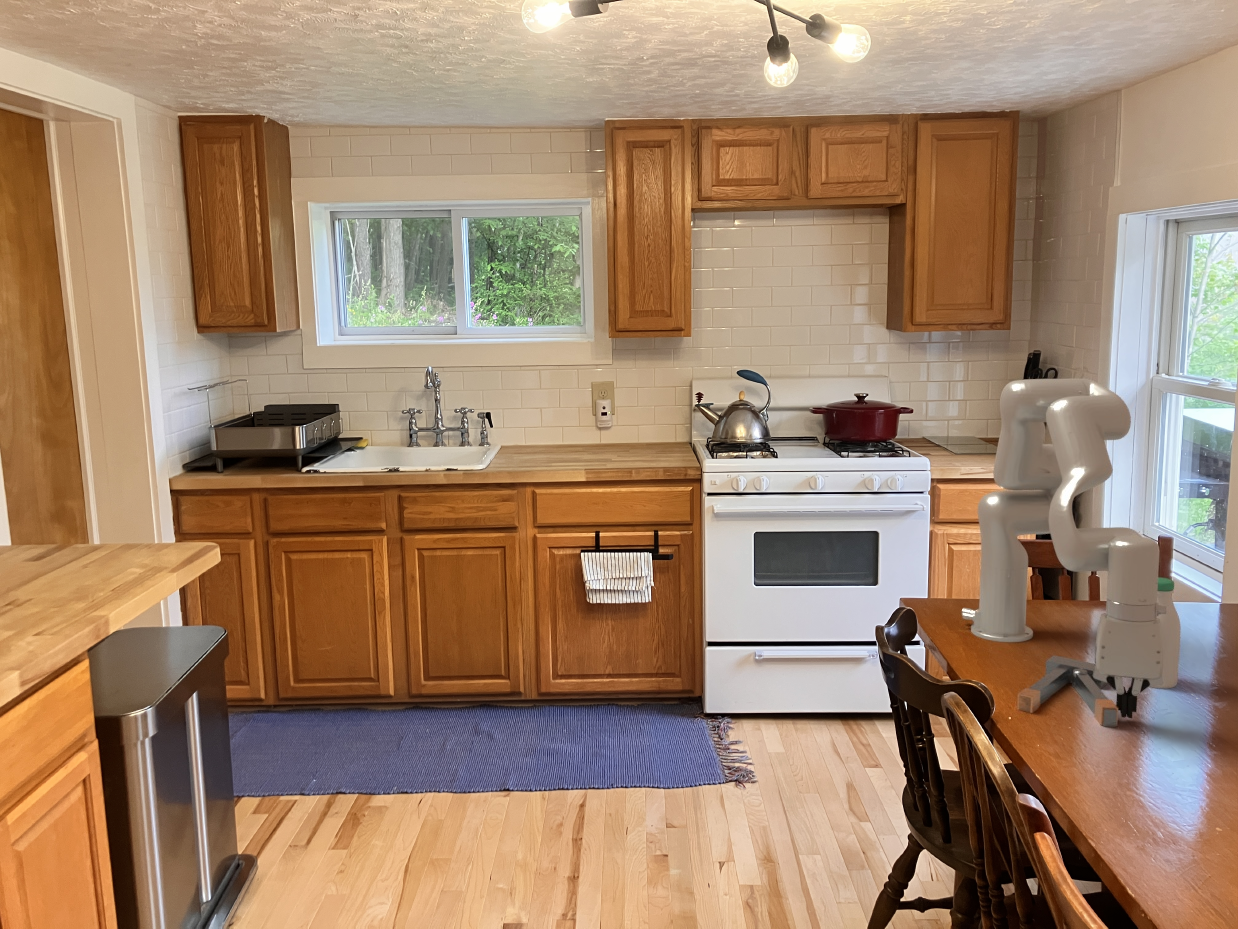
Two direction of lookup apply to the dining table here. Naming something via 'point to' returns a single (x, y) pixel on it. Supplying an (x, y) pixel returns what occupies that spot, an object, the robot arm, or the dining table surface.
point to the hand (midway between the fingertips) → (1126, 714)
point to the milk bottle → (1169, 633)
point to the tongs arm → (1095, 699)
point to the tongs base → (1053, 682)
